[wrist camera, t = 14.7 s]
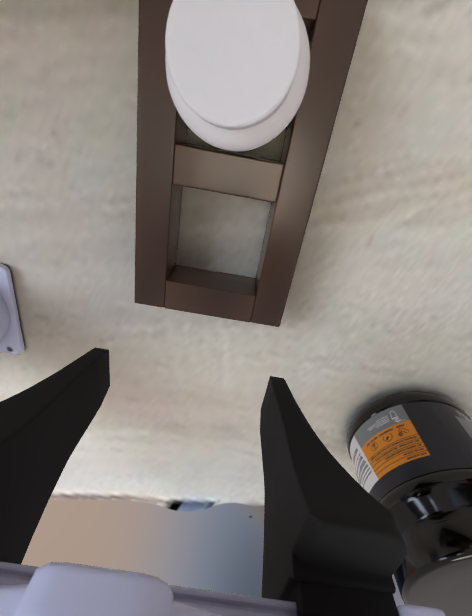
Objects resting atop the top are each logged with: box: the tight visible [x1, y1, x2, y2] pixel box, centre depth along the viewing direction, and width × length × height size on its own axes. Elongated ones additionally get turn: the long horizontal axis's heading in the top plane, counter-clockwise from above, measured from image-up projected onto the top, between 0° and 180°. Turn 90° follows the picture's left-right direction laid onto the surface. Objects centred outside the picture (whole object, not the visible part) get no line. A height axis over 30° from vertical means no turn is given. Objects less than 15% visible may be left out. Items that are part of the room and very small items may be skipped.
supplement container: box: [347, 392, 472, 616], centre depth 24 cm, size 10×10×12 cm
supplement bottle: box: [165, 0, 310, 151], centre depth 13 cm, size 5×5×10 cm
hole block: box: [135, 0, 368, 327], centre depth 18 cm, size 10×18×3 cm, turn 171°
